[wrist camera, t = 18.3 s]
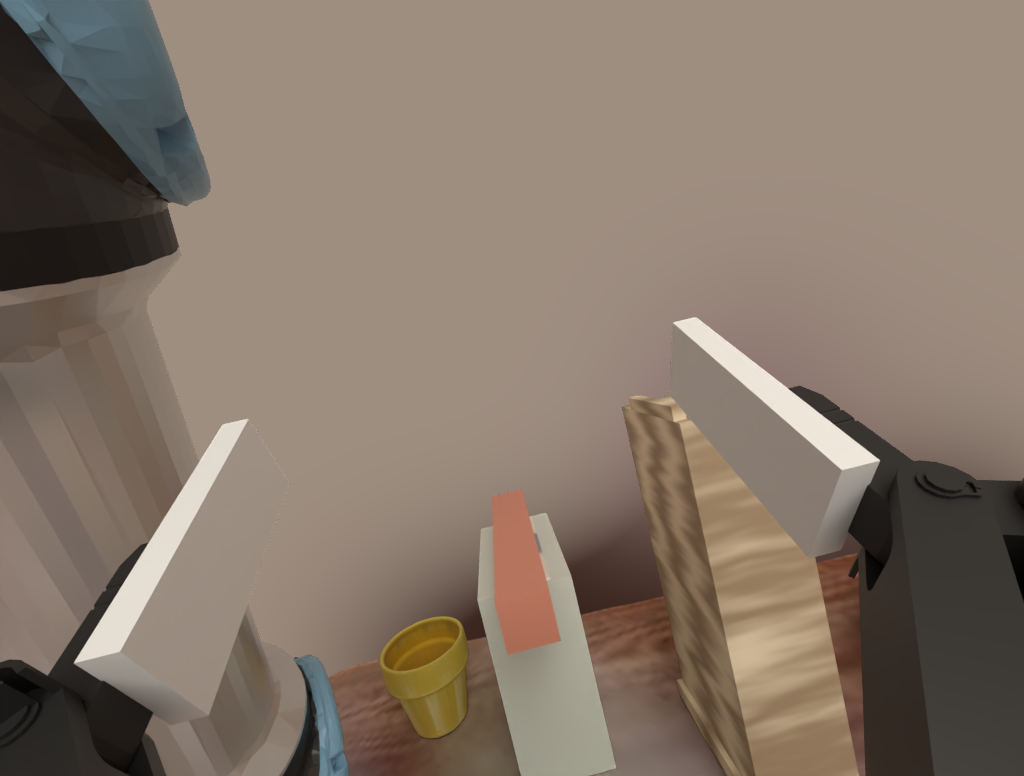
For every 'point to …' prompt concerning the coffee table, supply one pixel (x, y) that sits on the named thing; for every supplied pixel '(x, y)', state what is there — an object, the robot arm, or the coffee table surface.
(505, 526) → the coral square-faced block
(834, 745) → the birch stand
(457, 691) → the plant pot
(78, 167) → the robot arm
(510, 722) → the pale green paneled block
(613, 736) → the coffee table surface
